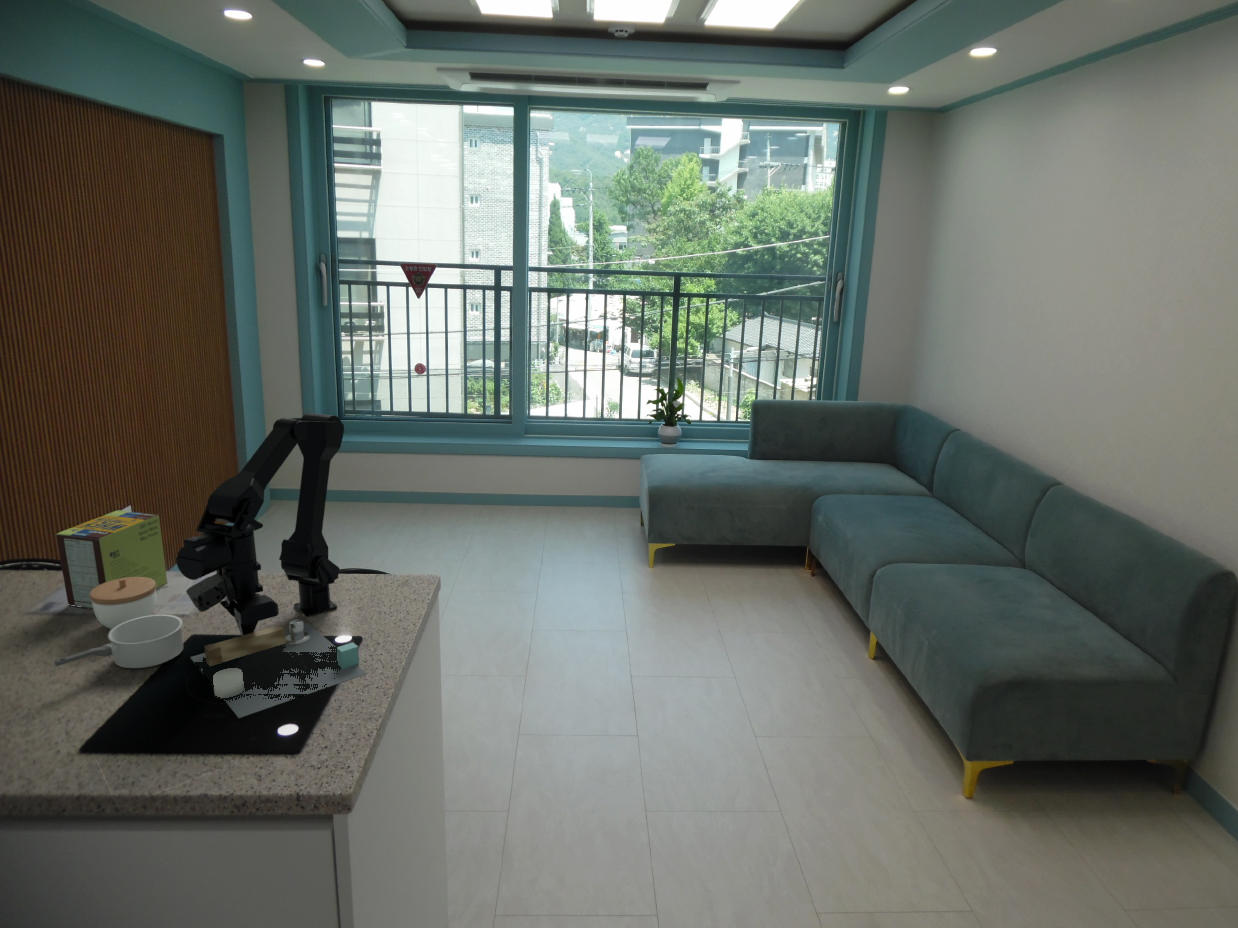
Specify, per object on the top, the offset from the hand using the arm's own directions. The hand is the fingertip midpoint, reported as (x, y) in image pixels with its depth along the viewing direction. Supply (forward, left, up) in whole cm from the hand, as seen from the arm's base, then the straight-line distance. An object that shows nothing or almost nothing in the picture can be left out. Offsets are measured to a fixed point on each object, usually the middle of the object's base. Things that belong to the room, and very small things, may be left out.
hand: (246, 639), depth 147 cm
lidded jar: (-24, -14, -2) cm, 27 cm away
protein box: (-41, -12, -2) cm, 42 cm away
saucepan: (-7, -18, -2) cm, 19 cm away
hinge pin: (+2, +8, -2) cm, 9 cm away
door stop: (+13, -7, -2) cm, 15 cm away
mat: (+10, +2, -2) cm, 10 cm away
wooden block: (+3, -1, -1) cm, 3 cm away
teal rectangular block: (+17, +11, -2) cm, 21 cm away
